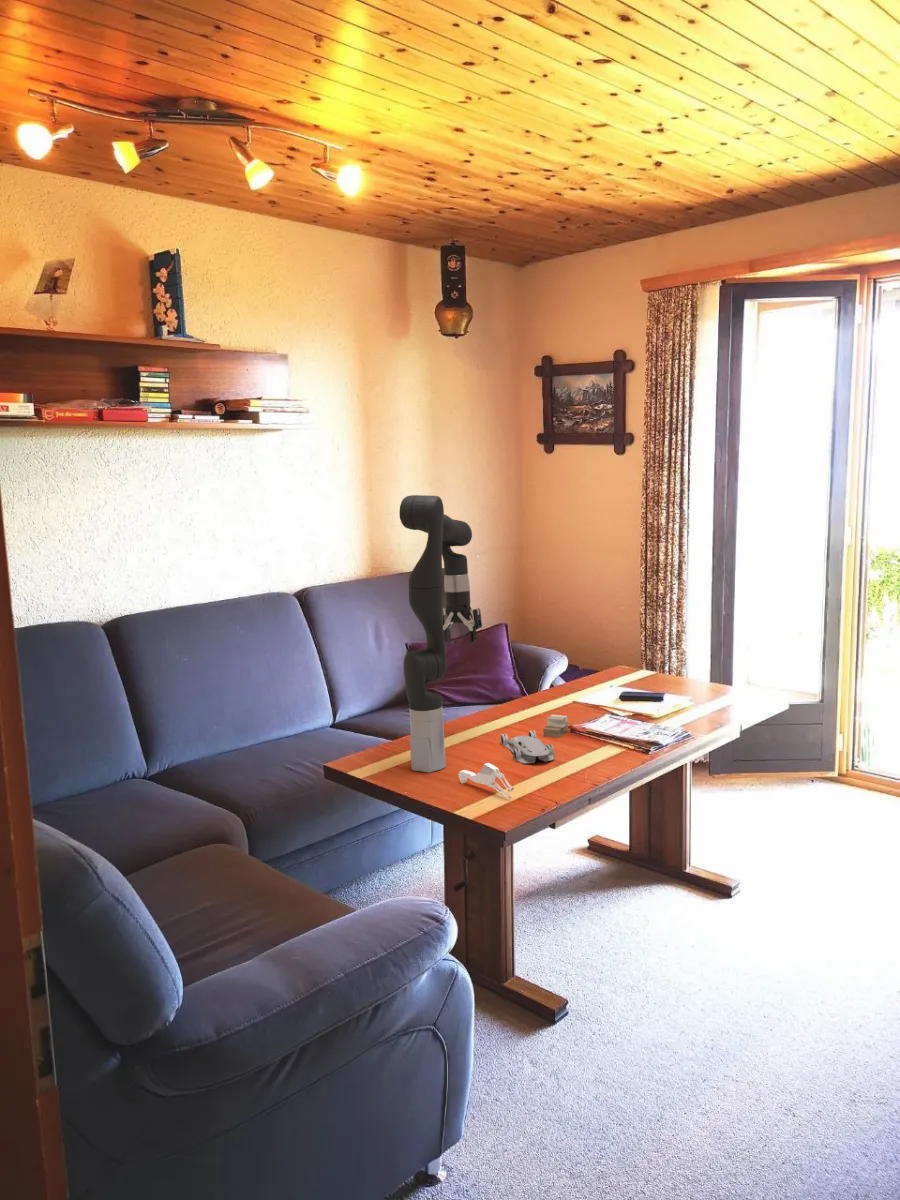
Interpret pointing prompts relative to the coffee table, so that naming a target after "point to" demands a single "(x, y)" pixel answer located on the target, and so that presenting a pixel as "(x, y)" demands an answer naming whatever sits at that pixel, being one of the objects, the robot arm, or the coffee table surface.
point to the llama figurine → (486, 778)
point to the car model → (528, 748)
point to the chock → (556, 726)
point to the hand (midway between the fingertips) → (460, 642)
